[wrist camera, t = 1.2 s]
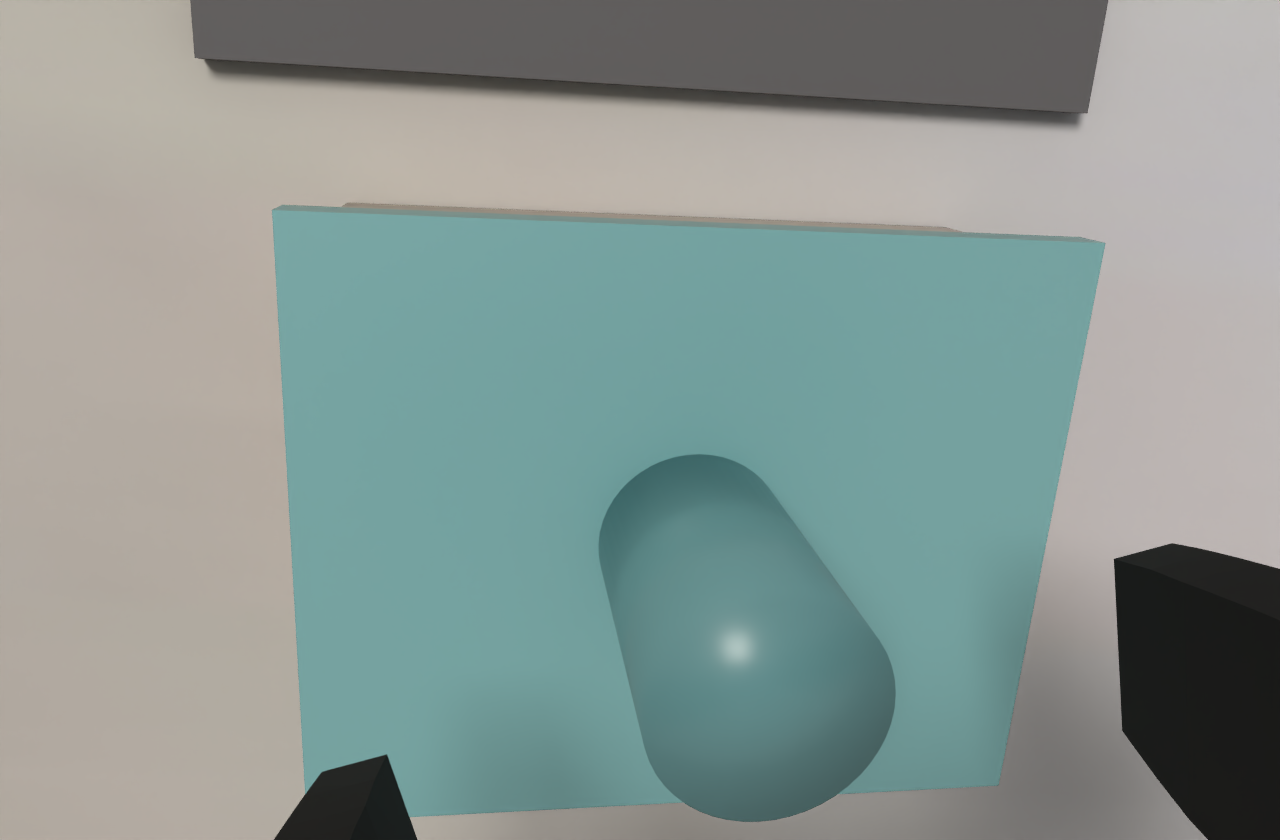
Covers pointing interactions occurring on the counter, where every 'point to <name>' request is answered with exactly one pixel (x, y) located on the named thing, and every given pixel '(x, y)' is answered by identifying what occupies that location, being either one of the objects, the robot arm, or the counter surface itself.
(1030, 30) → the mat
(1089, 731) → the counter surface
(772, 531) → the lid
